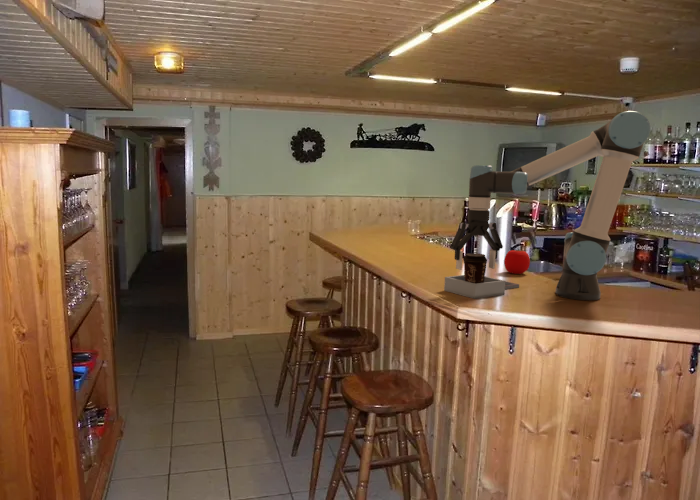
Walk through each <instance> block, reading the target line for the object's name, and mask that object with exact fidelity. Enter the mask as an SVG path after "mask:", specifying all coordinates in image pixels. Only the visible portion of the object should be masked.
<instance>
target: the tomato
mask: <svg viewBox="0 0 700 500" xmlns="http://www.w3.org/2000/svg"><path fill="white" fill-rule="evenodd" d="M503 261H504V262H503V263H504V267H505V270H506V271H507V272H508V273H509V274H512V275H513V274H514V275H521V274H524V273H525V272H527V271H528V270H529V268H530V264H531V258H530V255H529V253H528V252H527V251H524V250H521V249H519V248H518V249H512V250H508V251H507V253H506V255H505V256H504V260H503Z"/></svg>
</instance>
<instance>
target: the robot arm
mask: <svg viewBox="0 0 700 500" xmlns="http://www.w3.org/2000/svg"><path fill="white" fill-rule="evenodd" d="M650 134H651V124H650V121H649V119H648V118H647V116H645V114H642V113H641V112H639V111H634V110H628V111H627V110H626V111H623V112H620V113H618V114H617V115H615V116H614V117H613V118H612V119H611V120H609V121H608V122H607V123H605V124H604V125H602V126H601V127H599V128H597V129H595V130H593V131H591V132H590V135H589V136H587V137H584V138H582V139H580V140H578V141H575V142H573V143H570V144H568V145H567V146H564V147H562V148H560V149H558V150H555V151H553V152H551V153H549V154H547V155H544V156H542V157H540V158H538V159H536V160H533V161H530V162H529V163H527V164H525V165H522V166H520V167H517V168H516V169H514V170H512V171H496V170H494V169H493V166H492V165H487V164H486V165H484V164H483V165H482V164H480V165H478V164H475V165H474V164H473V166H471V168H470V173H469V182H468V183H469V185H468V187H469V188H468V206H467V207H468V210H467V223H466V222H465V223H464V222H460V223H459V225H458V229H457V232H456V234H455V236H454V238H453V240H452V242H451V243H450V246H449V248H450V249H451V250H454V261H455V262H456V263H455V269H456V270H459V271H461V270H462V267H463V251H462V249H463V248H464V247H465V246H466V244H467V243H468V241H469V240H470V239H471V238H473V237H477V236H479V237H483V239H484V240H485V241H486V242H487V244H488V245H489V247H490V248H491V249H489V257H488V268H489V269H494V270H495V268H496V260H497V258H498V251H500V250H501V249H503V248H504V246H503V242H502V240H501V237H500V236H499V232H498V229H497V223H496V222H490V223H489V221H490V214H491V213H490V209H491V200H492V199H491V198H492V197H491V195H492V194H513V195H524V194H526V193H527V191H528V187H529V186H532V185H534V184H536V183H539V182H541V181H543V180H545V179H548V178H550V177H552V176H555V175H558V174H559V173H562V172H564V171H567V170H569V169H570V168H573V167H575V166H579V165H580V164H583V163H585V162H587V161H589V160H592V159H594V158H596V157H602V161H601V164H600V166H599V169H598V173H597V175H596V179H595V181H594V185H593V188H592V190H591V194H590V197H589V200H588V201H587V202H588V203H587V206H586V208H585V211H584V215H583V217H582V220H581V224H580V226H579V227H577V228H575V229H574V230H573V232H567V233H566V234H565V237H564V241H563V242H564V247H563V259H562V270H561V275H560V278H559V280H558V282H557V285H556V286H555V291H554V293H555V294H556V295H557V296H559V297H561V298H565V299H569V300H577V301H578V300H579V301H597V300H600V299H601V293H602V291H601V289H600V284H599V281H598V273H599V272H600V271H601V270H602V269H603V268H604V266H605V264H606V262H607V251H608V249H609V246H610V243H611V238H610V236H609V234H608V233H609V230H610V228H611V225H612V221H613V218H614V217H615V213H616V210H617V207H618V204H619V202H620V198H621V195H622V192H623V189H624V187H625V183H626V180H627V178H628V175H629V171H630V168H631V166H632V163H633V162H635V161H636V160H639V158H640V155H641V153H642V150H643V146H644V144H645V143H646V141H648V139H649V137H650ZM488 229H489V231H490V232H489V231H488ZM466 230H467V231H466ZM464 233H465V234H464ZM490 234H491V235H490Z"/></svg>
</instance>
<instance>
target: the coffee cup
mask: <svg viewBox="0 0 700 500" xmlns="http://www.w3.org/2000/svg"><path fill="white" fill-rule="evenodd" d="M462 262H463V266H464V267H463V268H464V269H463V271H464V273H463V275H464V278H465V281H466V282H471V283H475V284H477V283H484V279H485V276H486V271H487V263H488V259H487V258H486V254H483V253H474V252H473V253H469V252H468V253H465V256H463V257H462Z"/></svg>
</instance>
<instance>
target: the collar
mask: <svg viewBox="0 0 700 500" xmlns="http://www.w3.org/2000/svg"><path fill="white" fill-rule="evenodd" d="M504 281H505V290H510V289H511V290H512V289H517V288H520V284H519V283H514V282H511V281H510V282H509V281H506V280H504Z"/></svg>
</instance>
